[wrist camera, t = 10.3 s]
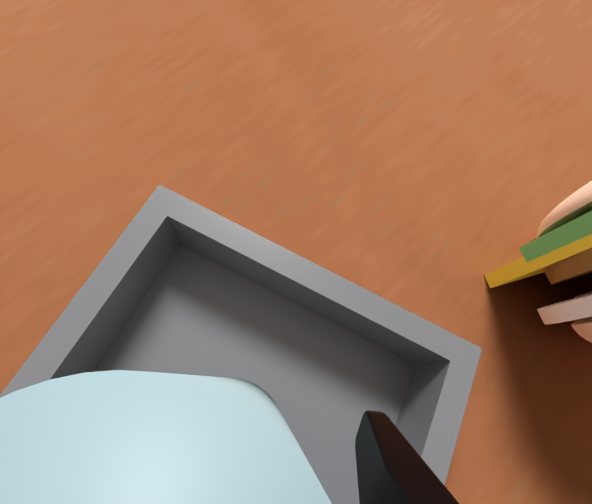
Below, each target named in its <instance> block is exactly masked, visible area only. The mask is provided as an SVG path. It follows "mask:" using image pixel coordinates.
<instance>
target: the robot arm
mask: <svg viewBox="0 0 592 504" xmlns="http://www.w3.org/2000/svg"><path fill="white" fill-rule="evenodd" d="M355 453H356V466H357V478H358V491H359V503H360V504H459V503H458V502H457V500H456V499H455V498H454V497H453V496H452V494H451V493H450V492H449V491H448V489H447V488H446V487H445V486H444V485H443V483H442V482H441V481H440V480H439V478H438V477H437V476H436V475H435V474H434V472H433V471H432V470H431V469H430V467H429V466H428V465H427V464H426V463H425V461H424V460H423V459H422V458H421V456H420V455H419V454H418V453H417V451H416V450H415V449H414V448H413V447H412V445H411V444H410V443H409V442H408V440H407V439H406V438H405V437H404V436H403V434H402V433H401V432H400V431H399V429H398V428H397V427H396V426H395V425H394V423H393V422H392V421H391V420H390V418H389V417H388V416H387V415H386V414H385V413H384V412H380V411H370V410H367V411H365V412H364V414H363V416H362V419H361V422H360V425H359V428H358V432H357V435H356V439H355Z"/></svg>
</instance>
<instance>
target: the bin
mask: <svg viewBox="0 0 592 504" xmlns="http://www.w3.org/2000/svg"><path fill="white" fill-rule="evenodd" d="M481 350H482V348H480V347H478V346H476V345H474V344H472V343H470V342H468V341H466V340H465V339H463V338H461V337H459V336H457V335H455V334H453V333H451V332H449V331H447V330H445V329H443V328H441V327H439V326H437V325H435V324H433V323H431V322H429V321H427V320H425V319H423V318H421V317H419V316H417V315H415V314H413V313H411V312H409V311H407V310H405V309H403V308H401V307H400V306H398V305H396V304H394V303H392V302H390V301H388V300H386V299H384V298H382V297H380V296H378V295H376V294H374V293H372V292H370V291H368V290H366V289H364V288H362V287H360V286H358V285H356V284H354V283H352V282H350V281H348V280H346V279H344V278H342V277H340V276H338V275H336V274H334V273H333V272H331V271H329V270H327V269H325V268H323V267H321V266H319V265H317V264H315V263H313V262H311V261H309V260H307V259H305V258H303V257H301V256H299V255H297V254H295V253H293V252H291V251H289V250H287V249H285V248H283V247H281V246H279V245H277V244H275V243H273V242H271V241H269V240H268V239H266V238H264V237H262V236H260V235H258V234H256V233H254V232H252V231H250V230H248V229H246V228H244V227H242V226H240V225H238V224H236V223H234V222H232V221H230V220H228V219H226V218H224V217H222V216H220V215H218V214H216V213H214V212H212V211H210V210H208V209H206V208H204V207H203V206H201V205H199V204H197V203H195V202H193V201H191V200H189V199H187V198H185V197H183V196H181V195H179V194H177V193H175V192H173V191H171V190H169V189H167V188H165V187H163V186H161V185H159V186H158V187H157V188H156V190H155V191H154V192H153V194H152V195H151V196H150V198H149V199H148V200H147V202H146V203H145V204H144V206H143V207H142V208H141V210H140V211H139V212H138V213H137V215H136V216H135V217H134V219H133V220H132V221H131V223H130V224H129V225H128V227H127V228H126V229H125V231H124V232H123V233H122V235H121V236H120V237H119V239H118V240H117V241H116V243H115V244H114V245H113V247H112V248H111V249H110V251H109V252H108V253H107V254H106V256H105V257H104V258H103V260H102V261H101V262H100V264H99V265H98V266H97V268H96V269H95V270H94V272H93V273H92V274H91V276H90V277H89V278H88V280H87V281H86V282H85V284H84V285H83V286H82V288H81V289H80V290H79V292H78V293H77V294H76V295H75V297H74V298H73V299H72V301H71V302H70V303H69V305H68V306H67V307H66V309H65V310H64V311H63V313H62V314H61V315H60V317H59V318H58V319H57V321H56V322H55V323H54V325H53V326H52V327H51V329H50V330H49V331H48V333H47V334H46V335H45V336H44V338H43V339H42V340H41V342H40V343H39V344H38V346H37V347H36V348H35V350H34V351H33V352H32V354H31V355H30V356H29V358H28V359H27V360H26V362H25V363H24V364H23V366H22V367H21V368H20V370H19V371H18V372H17V374H16V375H15V376H14V377H13V379H12V380H11V381H10V383H9V384H8V385H7V387H6V388H5V389H4V391H3V392H2V393H1V395H0V398H1V397H3V396H5V395H8V394H10V393H12V392H14V391H17V390H20V389H23V388H26V387H29V386H32V385H35V384H38V383H41V382H44V381H47V380H50V379H55V378H60V377H65V376H70V375H75V374H79V373H85V372H98V371H110V370H128V371H146V372H160V373H173V374H186V375H199V376H212V377H225V378H238V379H243V380H247V381H250V382H252V383H254V384H256V385H258V386H259V387H261V388H262V389H264V390H265V391H266V392H267V393H268V394H269V395H270V396H271V398H272V399H273V400H274V402H275V403H276V405H277V407H278V408H279V410H280V412H281V414H282V416H283V417H284V419H285V421H286V423H287V425H288V426H289V428H290V430H291V432H292V433H293V435H294V437H295V439H296V441H297V442H298V444H299V446H300V448H301V450H302V451H303V453H304V455H305V457H306V458H307V460H308V462H309V464H310V466H311V467H312V469H313V471H314V473H315V475H316V476H317V478H318V480H319V482H320V483H321V485H322V487H323V489H324V491H325V492H326V494H327V496H328V498H329V500H330V501H331V503H332V504H360V503H359V491H358V478H357V466H356V453H355V439H356V435H357V432H358V428H359V425H360V422H361V419H362V416H363V414H364V412H365V411H367V410H370V411H380V412H384V413H385V414H386V415H387V416H388V417H389V418H390V420H391V421H392V422H393V423H394V425H395V426H396V427H397V428H398V429H399V431H400V432H401V433H402V434H403V436H404V437H405V438H406V439H407V440H408V442H409V443H410V444H411V445H412V447H413V448H414V449H415V450H416V451H417V453H418V454H419V455H420V456H421V458H422V459H423V460H424V461H425V463H426V464H427V465H428V466H429V467H430V469H431V470H432V471H433V472H434V474H435V475H436V476H437V477H438V478H439V480H440V481H441V482H442V483H443V485H445V482H446V478H447V474H448V471H449V467H450V464H451V460H452V456H453V453H454V449H455V445H456V442H457V438H458V434H459V431H460V427H461V423H462V420H463V416H464V412H465V409H466V405H467V401H468V398H469V394H470V391H471V387H472V383H473V380H474V376H475V372H476V369H477V365H478V361H479V358H480V354H481Z"/></svg>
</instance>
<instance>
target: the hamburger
mask: <svg viewBox="0 0 592 504" xmlns="http://www.w3.org/2000/svg"><path fill="white" fill-rule="evenodd" d="M536 236H537V239H535V240H533V241H531V242H529V243H527V244H525V245H523V246H521V247H519V248H520V250H521V252H522V254H523V256H524V257H522V258H519V259H517V260H515V261H513V262H511V263H509V264H507V265H505V266H502V267H500V268H498V269H496V270H494V271H492V272H490V273H487V274H485V275H484V276H485V279H486V281H487V283H488V285H489V287H490V288H493V287H497V286H500V285H503V284H507V283H510V282H514V281H517V280H520V279H524V278H527V277H530V276H534V275H537V274H541V273H544V272H545V274H546V276H547V278H548V280H549V281H550V283H551V285H552V284H556V283H559V282H563V281H566V280H570V279H573V278H576V277H580V276H583V275H586V274H589V273H592V181H591V182H589V183H588V184H586V185H585V186H583V187H582V188H580V189H579V190H577V191H576V192H574V193H573V194H572V195H570V196H569V197H568V198H566V199H565V200H564V201H563V202H561V203H560V204H559V205H558V206H557V207H555V208H554V209H553V210H552V211H551V212H550V213H549V214H548V215H547V217H546V218H545V219H544V220H543V221H542V222H541V224H540V226H539V228H538V231H537V235H536ZM537 311H538V313H539V315H540V317H541V319H542V321H543V323H544V324H555V323H561V322H567V321H572V320H577V319H580V320H578V321H575V322H573V323H572V324H571V326H572V327H573V329H574V330H575V331H576V332H577V333H578V334H579V335H580V336H581V337H583V338H584V339H586V340H587V341H589V342H591V343H592V291H589V292H586V293H583V294H580V295H578V296H575V298H574V299H570V300H565V301H562V302H558V303H555V304H551V305H548V306H545V307H542V308H539V309H537Z"/></svg>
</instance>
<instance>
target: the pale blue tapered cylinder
mask: <svg viewBox="0 0 592 504" xmlns="http://www.w3.org/2000/svg"><path fill="white" fill-rule="evenodd" d="M0 504H332V503H331V501H330V500H329V498H328V496H327V494H326V492H325V491H324V489H323V487H322V485H321V483H320V482H319V480H318V478H317V476H316V475H315V473H314V471H313V469H312V467H311V466H310V464H309V462H308V460H307V458H306V457H305V455H304V453H303V451H302V450H301V448H300V446H299V444H298V442H297V441H296V439H295V437H294V435H293V433H292V432H291V430H290V428H289V426H288V425H287V423H286V421H285V419H284V417H283V416H282V414H281V412H280V410H279V408H278V407H277V405H276V403H275V402H274V400H273V399H272V398H271V396H270V395H269V394H268V393H267V392H266V391H265V390H264V389H262V388H261V387H259V386H258V385H256V384H254V383H252V382H250V381H247V380H243V379H238V378H225V377H212V376H199V375H186V374H173V373H160V372H146V371H128V370H110V371H98V372H85V373H79V374H75V375H70V376H65V377H60V378H55V379H50V380H47V381H44V382H41V383H38V384H35V385H32V386H29V387H26V388H23V389H20V390H17V391H14V392H12V393H10V394H8V395H5V396H3V397H1V398H0Z"/></svg>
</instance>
